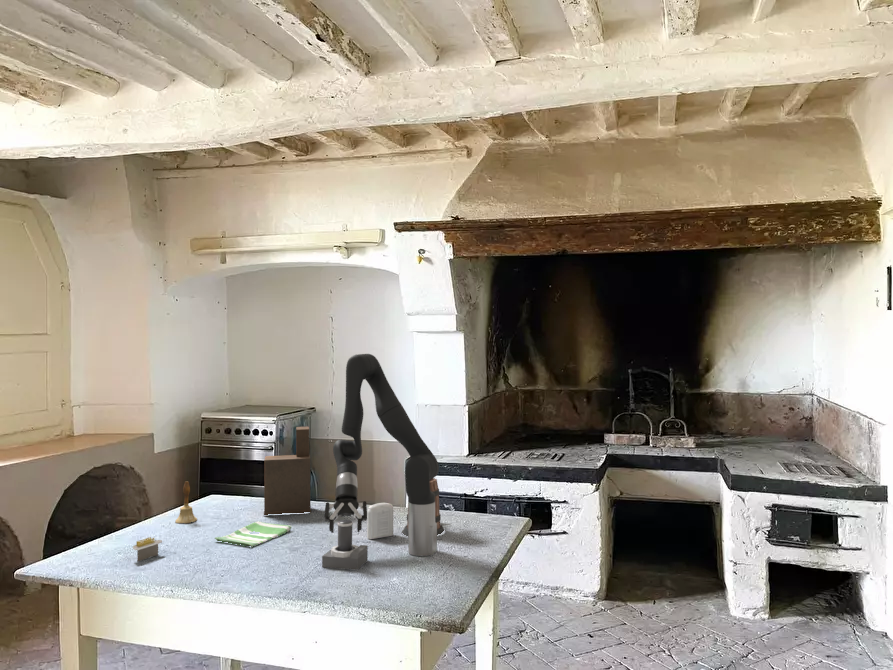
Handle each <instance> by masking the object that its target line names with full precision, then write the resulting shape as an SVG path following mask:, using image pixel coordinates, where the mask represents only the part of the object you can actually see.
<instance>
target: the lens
mask: <svg viewBox="0 0 893 670" xmlns="http://www.w3.org/2000/svg"><path fill="white" fill-rule="evenodd" d="M353 523H354V522H353V520H349V519H343V520H342V519H341V520H339V521H337V545H338V551H341V552H346V551H352V545H353Z"/></svg>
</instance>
